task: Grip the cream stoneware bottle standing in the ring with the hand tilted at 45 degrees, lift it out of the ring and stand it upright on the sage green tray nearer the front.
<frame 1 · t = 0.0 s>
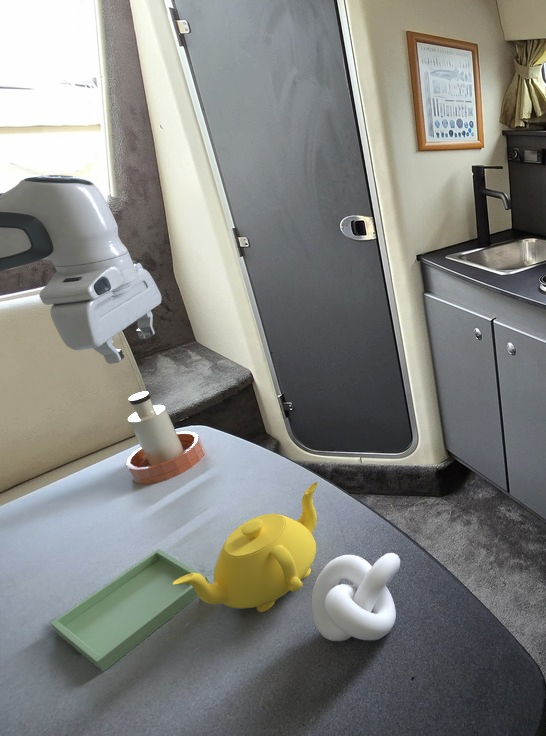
hand: (133, 348, 86), 30 cm above the table, tool pointing down, fingers open, 8 cm apart
bottle: (171, 466, 101), point 1 cm above the table, touching ring
white knot: (367, 623, 70), on the table
teapot: (278, 584, 76), on the table
ring: (172, 469, 101), on the table
tray: (136, 608, 73), on the table
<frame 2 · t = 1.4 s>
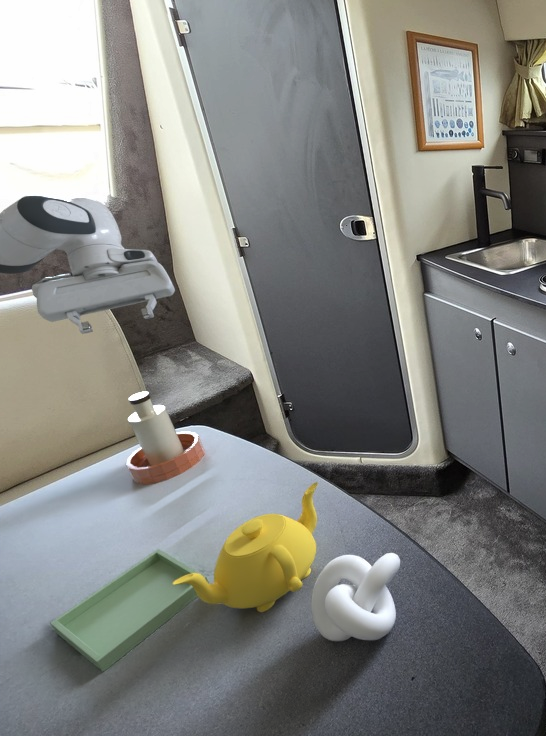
hand: (118, 324, 99), 29 cm above the table, tool tilted 45°, fingers open, 8 cm apart
nothing on the table moved.
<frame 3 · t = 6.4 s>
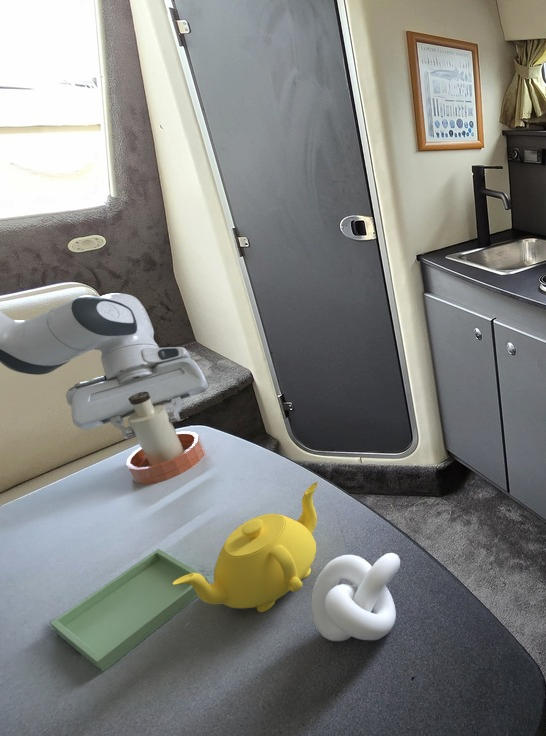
hand: (153, 428, 97), 10 cm above the table, tool tilted 45°, fingers closed on bottle, 5 cm apart
bottle: (171, 465, 101), point 1 cm above the table, touching ring, gripper
everything else where it was.
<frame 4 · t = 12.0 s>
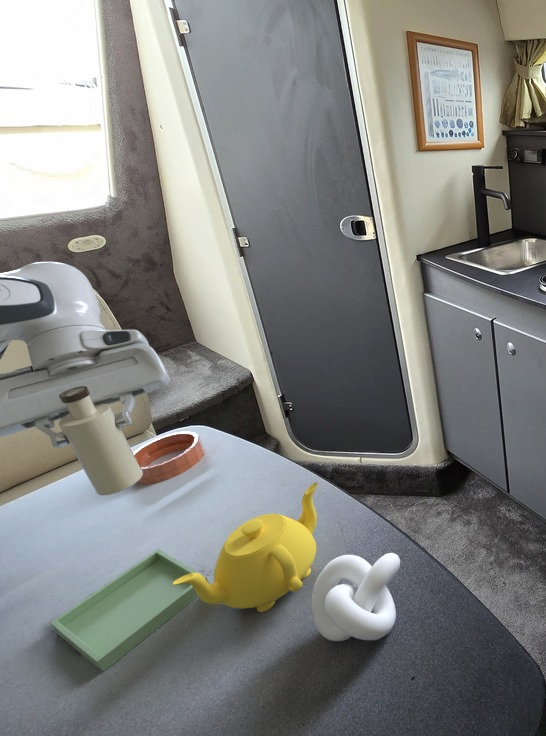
hand: (94, 434, 75), 23 cm above the table, tool tilted 45°, fingers closed on bottle, 5 cm apart
bottle: (120, 482, 79), point 14 cm above the table, touching gripper
everything else where it was.
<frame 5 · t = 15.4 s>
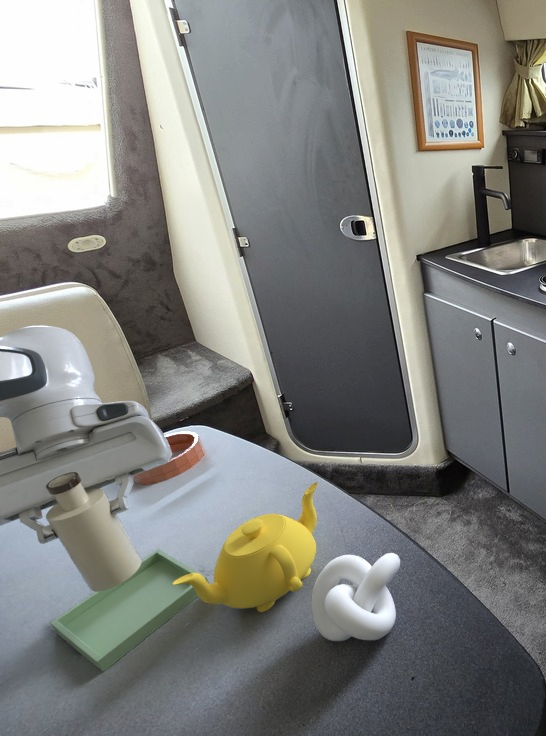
hand: (86, 525, 66), 17 cm above the table, tool tilted 45°, fingers closed on bottle, 5 cm apart
bottle: (116, 573, 70), point 7 cm above the table, touching gripper
everything else where it was.
when the fingers open (10 cm above the table, at t = 17.8 s): bottle stays where it is, resting on tray.
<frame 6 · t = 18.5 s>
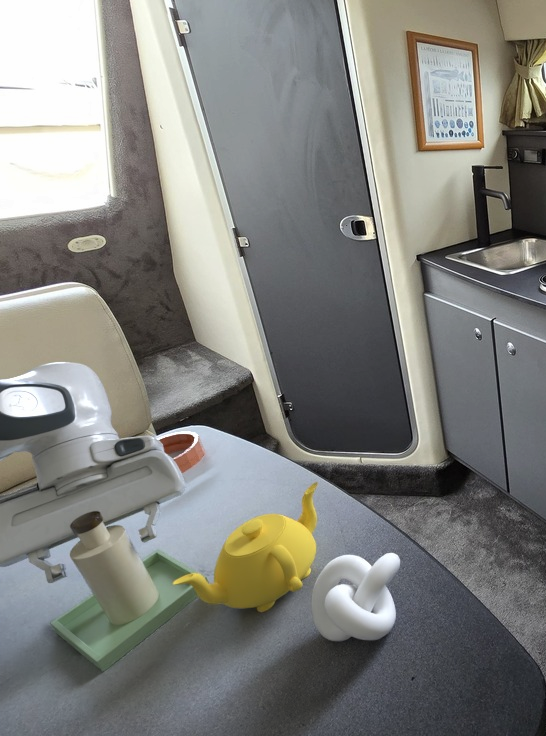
hand: (105, 558, 69), 11 cm above the table, tool tilted 45°, fingers open, 8 cm apart
bottle: (134, 606, 73), point 1 cm above the table, touching tray
everything else where it was.
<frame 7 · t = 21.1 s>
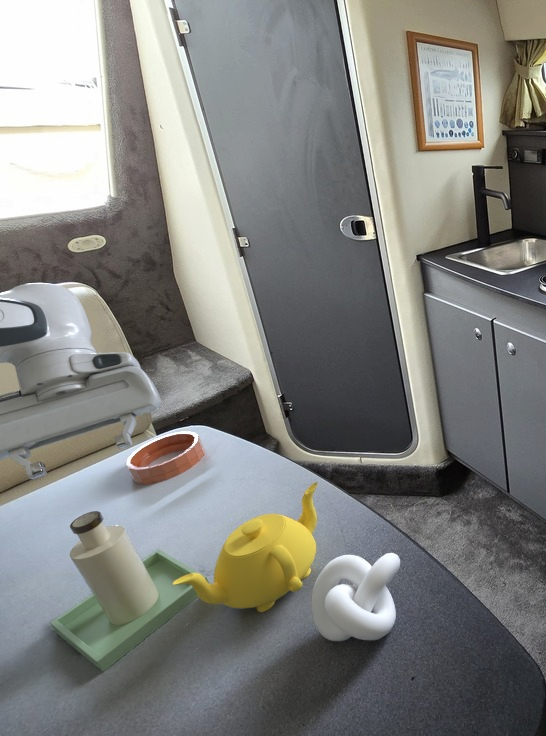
hand: (83, 460, 73), 21 cm above the table, tool tilted 45°, fingers open, 8 cm apart
nothing on the table moved.
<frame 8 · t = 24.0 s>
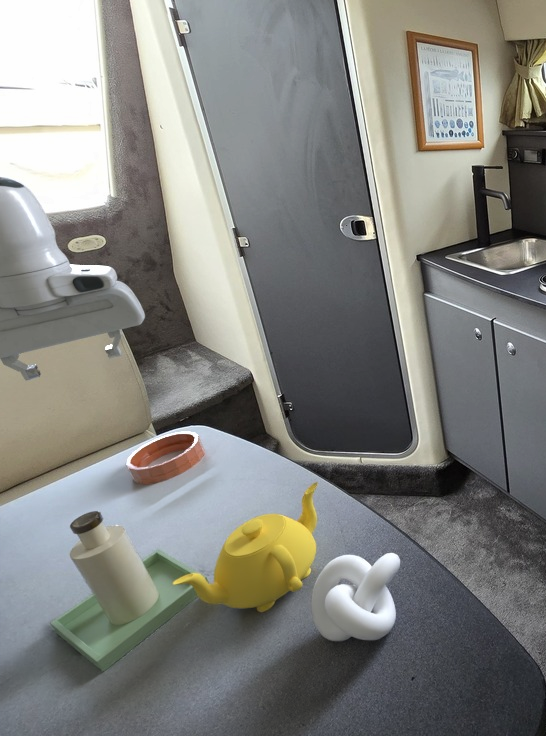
hand: (76, 366, 79), 31 cm above the table, tool pointing down, fingers open, 8 cm apart
nothing on the table moved.
at the end: bottle inside the target area in the tray (0.0 cm from its centre), point 0.6 cm above the tray's base; bottle tilted 0°; the gripper is holding nothing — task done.
